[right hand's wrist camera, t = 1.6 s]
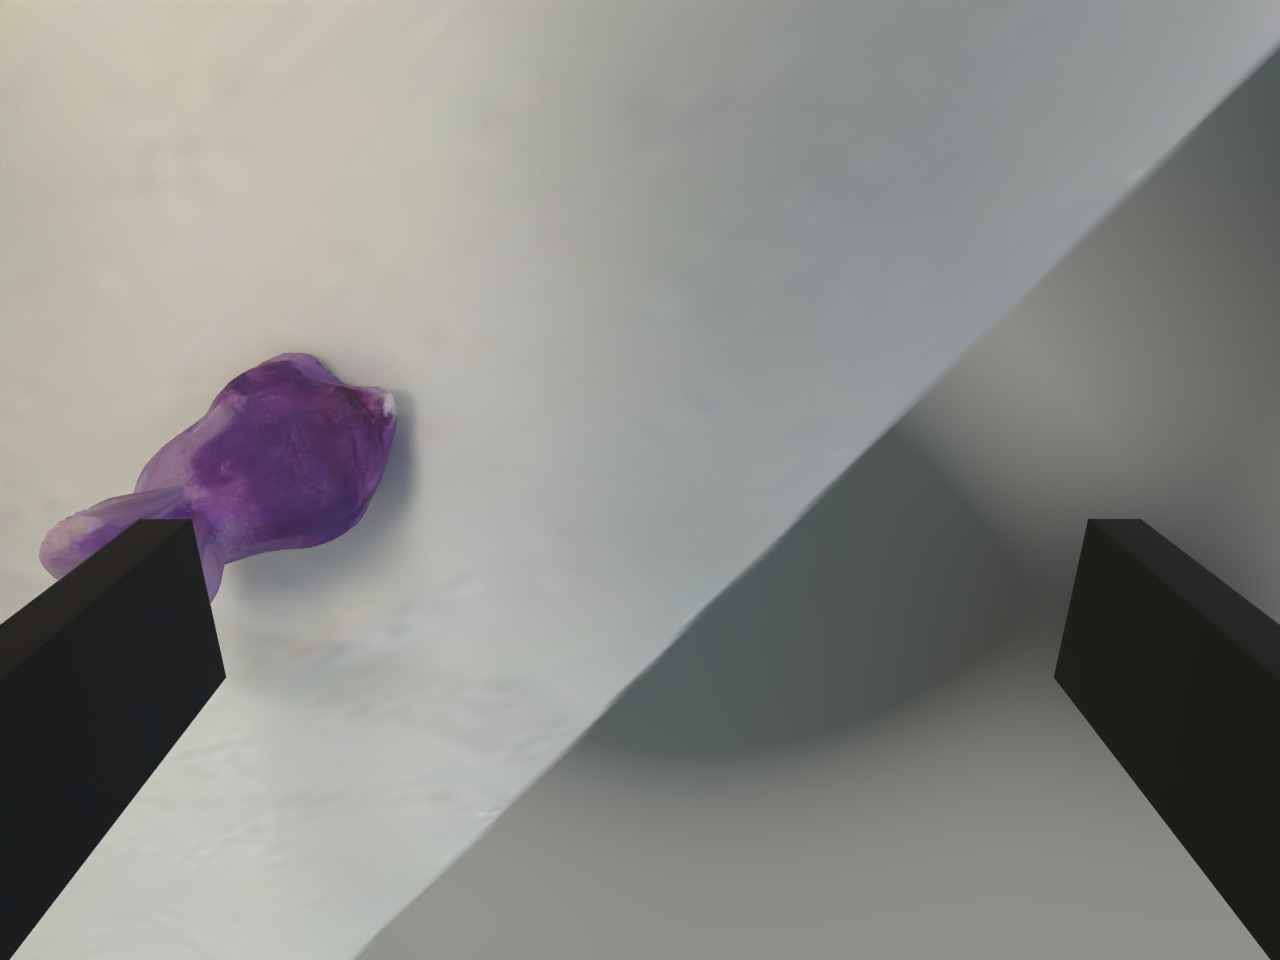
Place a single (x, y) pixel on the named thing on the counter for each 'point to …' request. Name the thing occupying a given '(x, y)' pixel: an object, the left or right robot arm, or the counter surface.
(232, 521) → the figurine
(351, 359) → the counter surface
